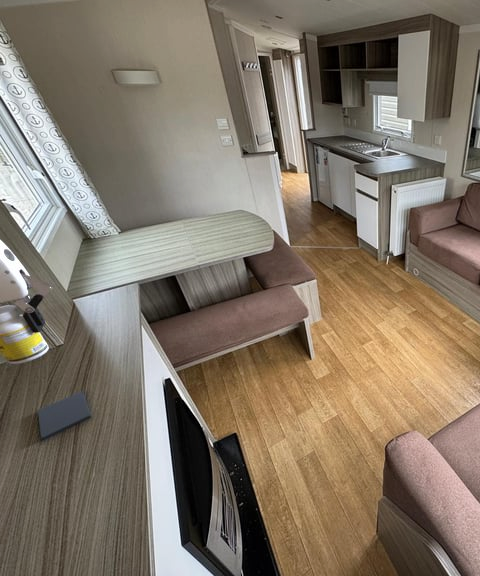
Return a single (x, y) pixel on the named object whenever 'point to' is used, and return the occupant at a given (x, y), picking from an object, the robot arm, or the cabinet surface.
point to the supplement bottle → (18, 337)
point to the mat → (63, 415)
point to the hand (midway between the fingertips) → (14, 334)
